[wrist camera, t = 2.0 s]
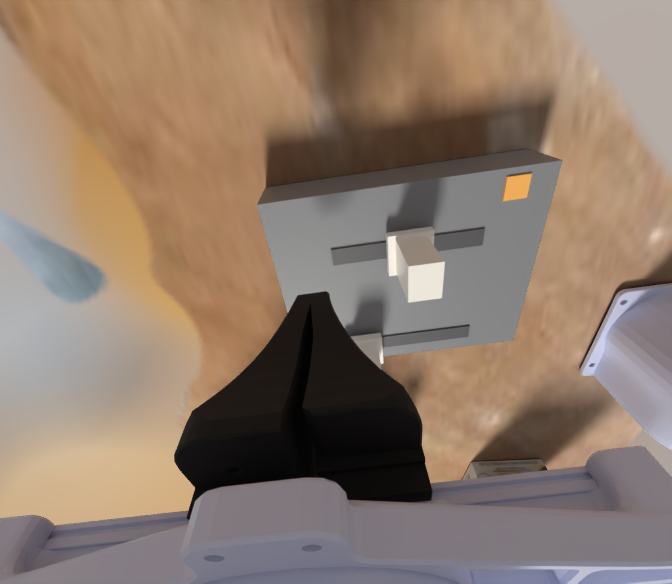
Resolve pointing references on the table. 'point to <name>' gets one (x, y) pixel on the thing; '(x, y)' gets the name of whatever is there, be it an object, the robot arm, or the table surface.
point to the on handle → (371, 347)
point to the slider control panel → (411, 213)
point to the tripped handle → (416, 263)
